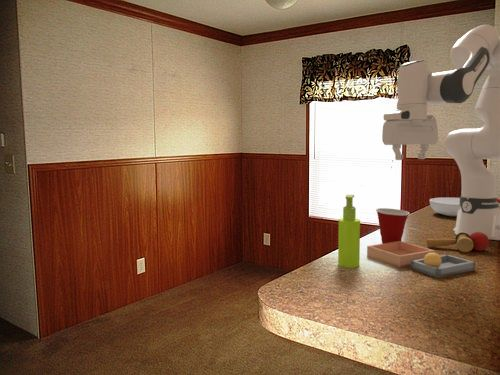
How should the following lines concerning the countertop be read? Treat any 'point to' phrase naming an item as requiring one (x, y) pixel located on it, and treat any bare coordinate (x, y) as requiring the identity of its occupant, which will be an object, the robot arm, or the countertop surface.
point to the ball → (433, 260)
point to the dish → (397, 253)
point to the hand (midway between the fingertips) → (410, 159)
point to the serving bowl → (446, 206)
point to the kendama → (463, 242)
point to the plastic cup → (391, 224)
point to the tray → (444, 266)
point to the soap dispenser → (349, 236)
